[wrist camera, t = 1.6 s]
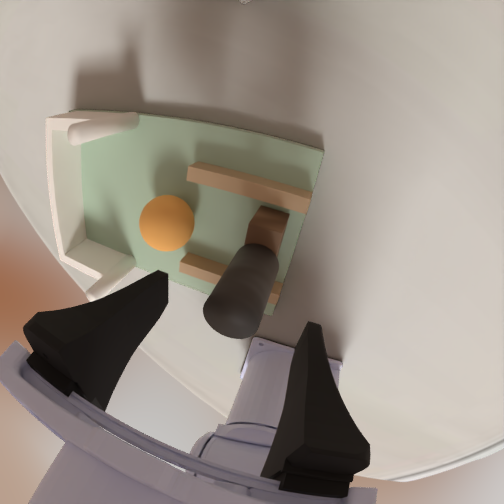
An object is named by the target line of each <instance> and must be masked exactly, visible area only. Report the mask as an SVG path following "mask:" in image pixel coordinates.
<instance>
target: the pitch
mask: <svg viewBox="0 0 504 504" xmlns="http://www.w3.org/2000/svg"><path fill="white" fill-rule="evenodd" d="M323 155H324V150H321V149H318V148H314V147H311V146H308V145H304V144H301V143H297V142H294V141H290V140H286V139H282V138H278V137H275V136H271V135H267V134H262V133H258V132H254V131H249V130H245V129H240V128H235V127H231V126H226V125H220V124H215V123H210V122H204V121H198V120H192V119H185V118H178V117H171V116H163V115H155V114H146V113H136V112H123V111H108V110H81V109H76V110H71V111H69V113H64V114H60V115H55V116H51V117H47V118H46V163H47V178H48V189H49V198H50V206H51V213H52V220H53V226H54V232H55V237H56V243H57V248H58V252H59V257H60V260H61V261H63V262H64V263H66V264H68V265H70V266H72V267H74V268H76V269H78V270H80V271H82V272H83V273H85V274H87V275H89V276H91V277H93V278H95V279H97V280H98V281H97V282H96V283H95V284H94V285H93V286H92V287H90V288H89V289H88V290H87V291H86V296H87V298H88V300H89V301H90V302H92V301H95V300H98V299H100V298H103V297H105V296H106V295H107V294H108V293H109V292H110V291H111V290H112V289H113V288H114V287H115V286H116V285H117V284H118V283H119V282H120V281H121V280H122V279H123V278H124V277H125V276H126V275H127V274H128V273H129V272H130V271H131V270H132V269H133V268H134V267H138V268H140V269H142V270H145V271H147V272H150V273H153V272H155V271H157V270H160V271H163V272H166V273H168V280H170V281H173V282H176V283H178V284H181V285H184V286H186V287H189V288H192V289H194V290H197V291H200V292H202V293H205V294H208V295H210V294H211V293H212V291H213V289H214V288H215V286H216V284H217V283H218V281H219V280H220V278H221V276H222V275H223V273H224V272H225V270H226V268H227V267H228V265H229V264H230V262H231V260H232V259H233V257H234V256H235V254H236V252H237V251H238V250H239V249H240V248H241V247H242V246H244V243H245V238H246V234H247V229H248V224H249V222H250V221H251V219H252V218H253V216H254V215H255V213H256V212H257V210H258V209H259V207H260V206H261V205H262V206H265V207H269V208H272V209H276V210H279V211H282V212H285V213H289V214H290V216H289V219H288V223H287V226H286V230H285V233H284V236H283V240H282V243H281V247H280V250H279V253H278V257H277V258H278V261H279V270H278V273H277V276H276V279H275V282H274V285H273V288H272V291H271V294H270V296H269V299H268V302H267V305H266V308H265V311H264V313H263V314H266V315H269V316H272V314H273V311H274V309H275V306H276V304H277V301H278V299H279V296H280V292H281V289H282V286H283V283H284V280H285V277H286V274H287V271H288V268H289V265H290V262H291V259H292V256H293V253H294V250H295V246H296V243H297V240H298V237H299V234H300V231H301V228H302V225H303V221H304V218H305V215H306V214H307V211H308V207H309V204H310V201H311V197H312V192H313V189H314V186H315V182H316V179H317V175H318V172H319V169H320V165H321V162H322V158H323ZM162 195H173V196H176V197H179V198H181V199H182V200H184V201H185V202H186V203H187V204H188V205H189V206H190V208H191V210H192V212H193V215H194V221H195V225H194V231H193V234H192V236H191V238H190V239H189V241H188V242H187V243H186V244H185V245H184V246H182V247H181V248H179V249H177V250H174V251H167V252H166V251H159V250H156V249H154V248H152V247H151V246H149V245H148V244H147V243H146V242H145V240H144V239H143V237H142V235H141V232H140V228H139V219H140V215H141V212H142V210H143V208H144V207H145V205H146V204H147V203H148V202H149V201H151V200H152V199H154V198H156V197H158V196H162Z"/></svg>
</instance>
